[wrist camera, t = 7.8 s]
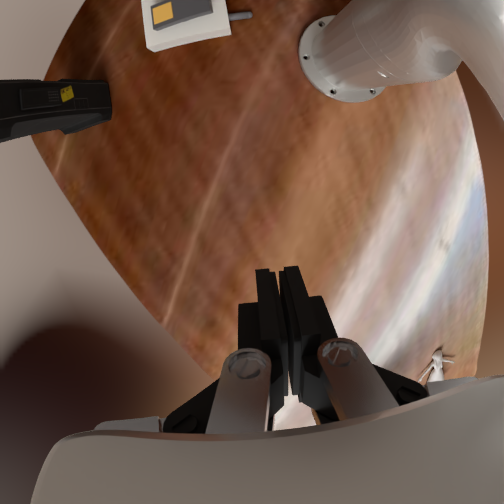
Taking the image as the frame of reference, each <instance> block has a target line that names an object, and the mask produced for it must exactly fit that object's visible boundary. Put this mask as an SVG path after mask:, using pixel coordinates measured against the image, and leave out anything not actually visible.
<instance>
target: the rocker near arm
mask: <svg viewBox="0 0 504 504" xmlns="http://www.w3.org/2000/svg"><path fill="white" fill-rule="evenodd" d="M150 7H151V16H152V24H153V30H156V31H159V30H162V29H164V28H167V27H170V26H173V25H175V24H178V23H181V22H185V21H189V20H191V19H194V18H197V17H201V16H204V15H208V14H211V13H213V7H212V2H211V0H165V1H162V2H159V3H157V4H155V5H152V6H150Z"/></svg>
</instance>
